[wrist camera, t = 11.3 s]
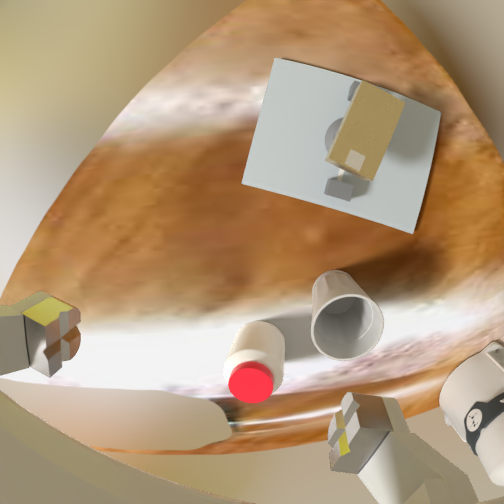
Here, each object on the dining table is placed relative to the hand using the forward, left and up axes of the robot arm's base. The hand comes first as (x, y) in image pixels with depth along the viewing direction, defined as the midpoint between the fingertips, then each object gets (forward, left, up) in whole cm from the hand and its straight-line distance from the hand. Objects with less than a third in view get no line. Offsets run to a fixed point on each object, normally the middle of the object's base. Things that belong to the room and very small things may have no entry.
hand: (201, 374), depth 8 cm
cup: (-11, +7, -35) cm, 38 cm away
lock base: (-7, -13, -35) cm, 38 cm away
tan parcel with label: (-7, -13, -28) cm, 31 cm away
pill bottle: (-3, +18, -35) cm, 40 cm away
